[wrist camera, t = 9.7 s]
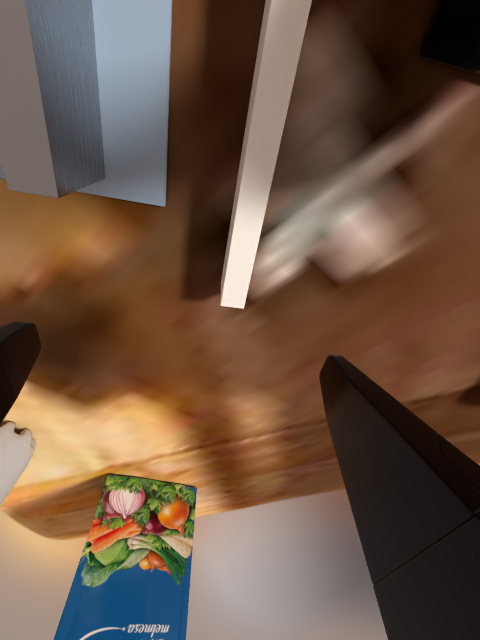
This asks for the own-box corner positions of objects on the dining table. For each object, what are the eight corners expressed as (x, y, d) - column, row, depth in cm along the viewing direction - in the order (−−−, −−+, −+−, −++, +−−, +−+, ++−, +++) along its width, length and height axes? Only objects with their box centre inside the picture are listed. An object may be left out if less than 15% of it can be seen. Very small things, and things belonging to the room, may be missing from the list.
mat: (172, -18, 13) (171, -20, 13) (165, 205, 19) (164, 206, 18) (-73, -88, 12) (-79, -92, 11) (-2, 176, 17) (-5, 177, 17)
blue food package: (108, 471, 36) (-39, 916, 16) (197, 485, 40) (169, 870, 19) (101, 493, 40) (-30, 888, 19) (184, 504, 43) (147, 853, 22)
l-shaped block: (331, -159, 11) (369, -260, 8) (241, 285, 22) (243, 308, 19) (-298, -402, 8) (-572, -682, 5) (-45, 245, 19) (-92, 265, 16)
